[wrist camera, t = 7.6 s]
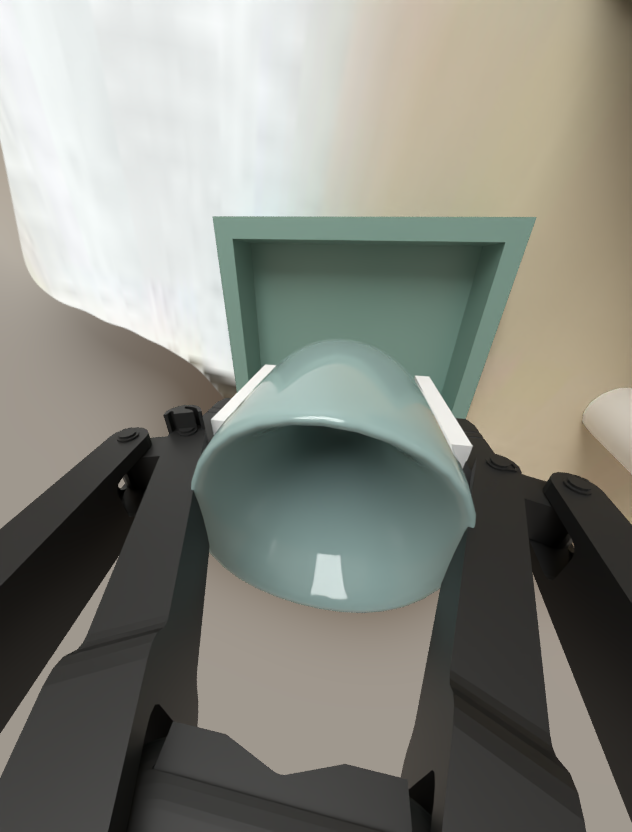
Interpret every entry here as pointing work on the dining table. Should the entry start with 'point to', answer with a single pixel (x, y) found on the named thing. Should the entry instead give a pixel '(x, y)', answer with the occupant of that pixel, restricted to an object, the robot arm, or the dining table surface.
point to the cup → (335, 483)
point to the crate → (371, 290)
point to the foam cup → (612, 423)
